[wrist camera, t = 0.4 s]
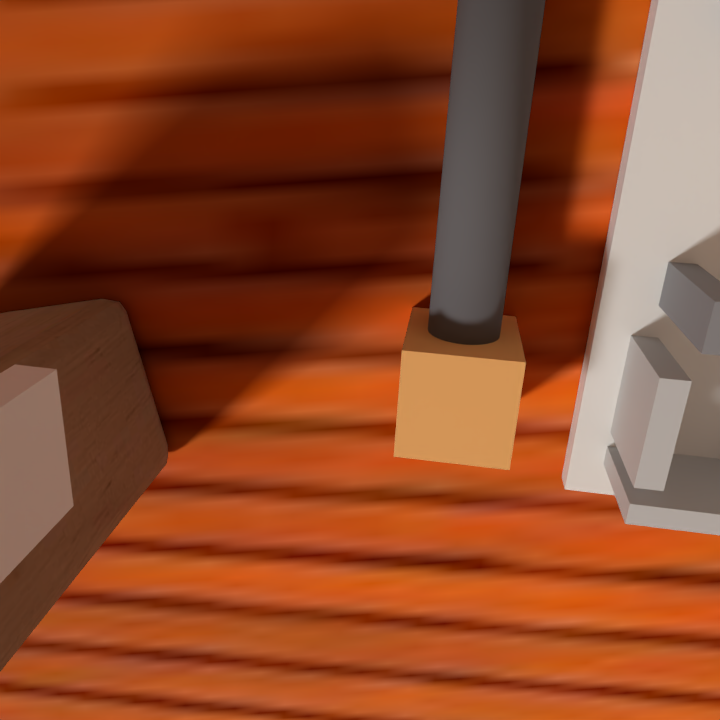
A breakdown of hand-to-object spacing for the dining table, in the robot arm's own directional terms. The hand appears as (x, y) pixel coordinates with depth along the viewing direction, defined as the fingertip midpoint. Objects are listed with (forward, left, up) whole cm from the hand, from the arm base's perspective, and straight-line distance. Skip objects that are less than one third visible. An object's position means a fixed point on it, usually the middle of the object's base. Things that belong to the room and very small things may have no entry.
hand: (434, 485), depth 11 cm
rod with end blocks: (-4, +1, -22) cm, 23 cm away
